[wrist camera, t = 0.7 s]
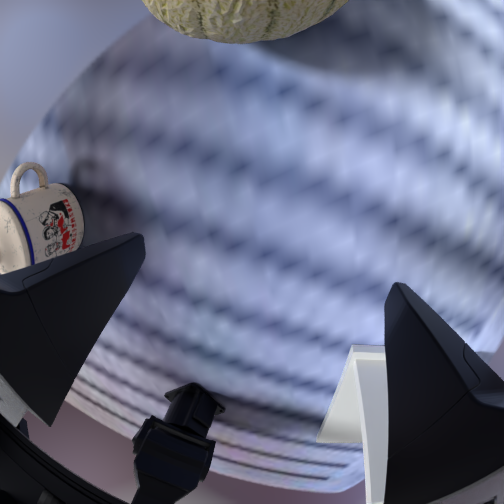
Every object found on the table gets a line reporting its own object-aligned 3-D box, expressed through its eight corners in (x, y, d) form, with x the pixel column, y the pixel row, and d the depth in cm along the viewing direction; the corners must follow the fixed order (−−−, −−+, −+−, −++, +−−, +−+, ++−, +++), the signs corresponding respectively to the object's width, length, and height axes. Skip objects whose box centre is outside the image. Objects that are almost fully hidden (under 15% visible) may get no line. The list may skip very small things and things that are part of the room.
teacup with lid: (89, 262, 29) (19, 314, 18) (42, 245, 29) (-22, 283, 19) (88, 158, 24) (-3, 179, 13) (39, 154, 25) (-38, 173, 14)
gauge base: (316, 436, 34) (309, 537, 18) (352, 344, 27) (370, 500, 11) (421, 431, 32) (436, 518, 16) (479, 344, 24) (532, 448, 9)
